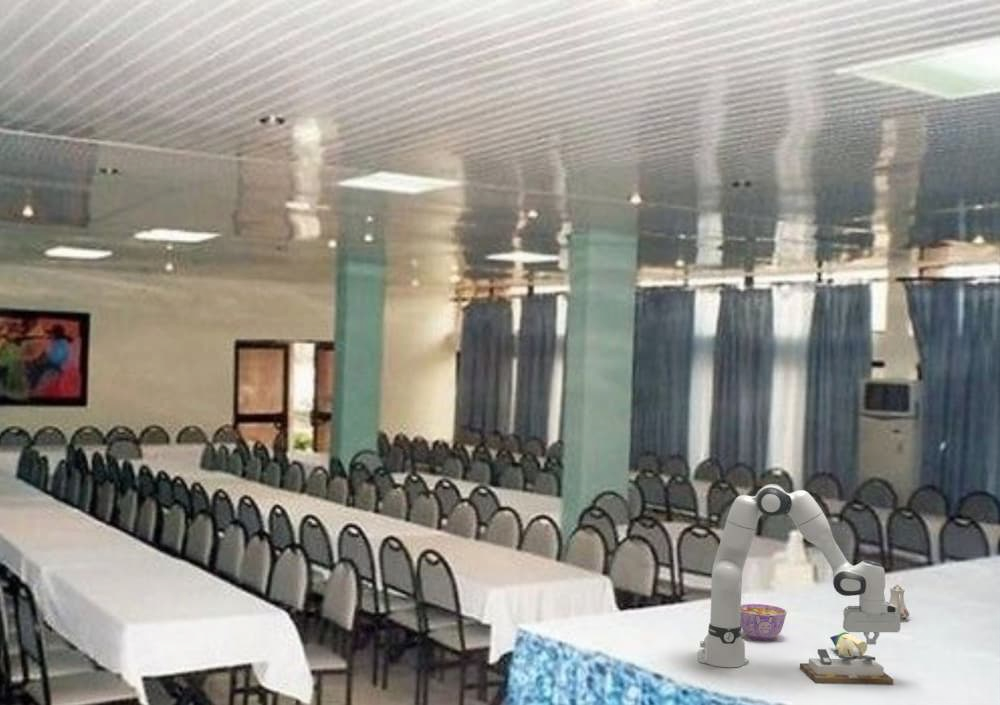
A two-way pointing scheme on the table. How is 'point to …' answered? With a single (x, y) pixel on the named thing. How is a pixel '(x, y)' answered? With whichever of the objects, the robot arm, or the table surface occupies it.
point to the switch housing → (846, 667)
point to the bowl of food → (762, 620)
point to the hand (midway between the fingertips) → (871, 644)
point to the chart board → (845, 677)
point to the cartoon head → (849, 644)
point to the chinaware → (899, 602)
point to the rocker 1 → (824, 657)
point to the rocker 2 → (846, 657)
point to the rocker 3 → (867, 657)
